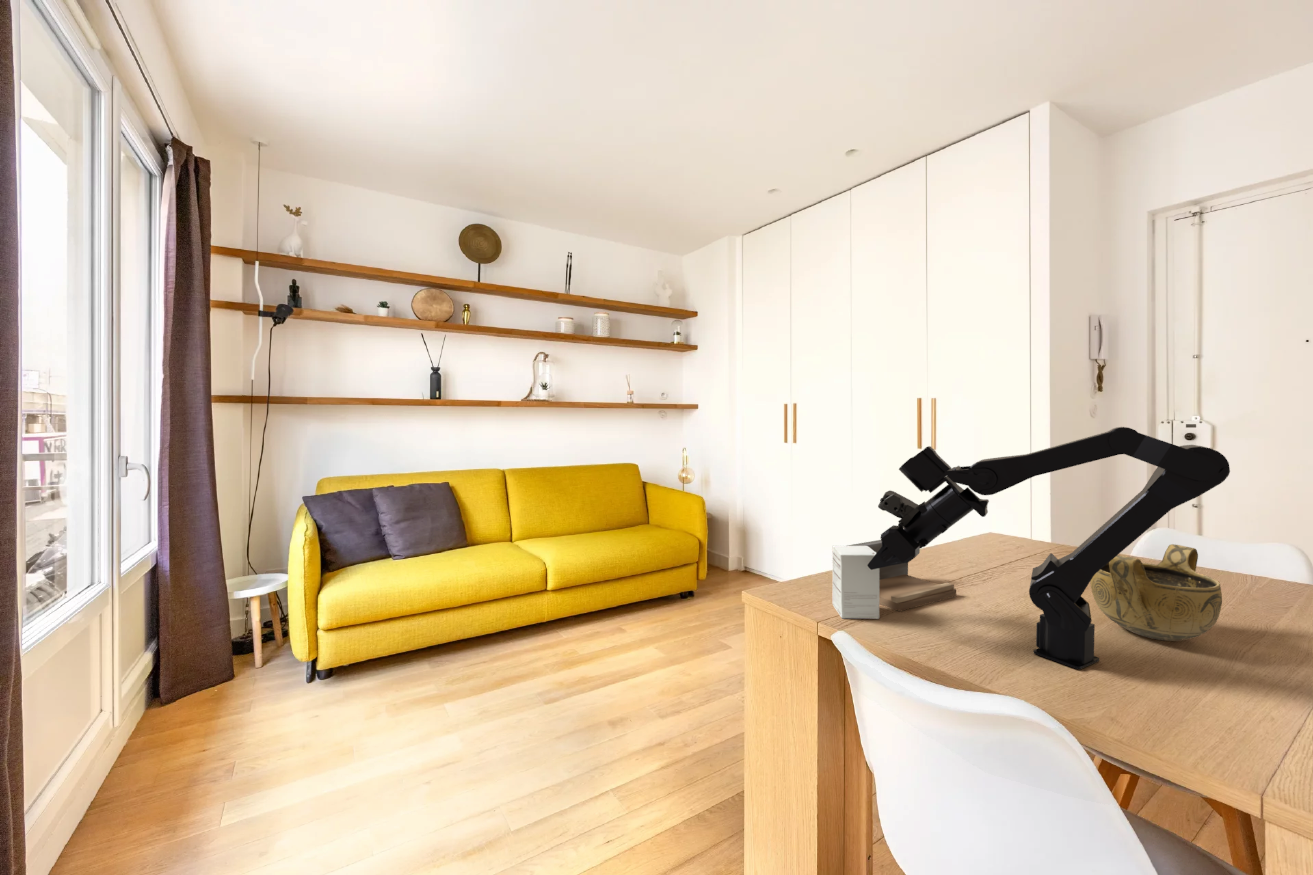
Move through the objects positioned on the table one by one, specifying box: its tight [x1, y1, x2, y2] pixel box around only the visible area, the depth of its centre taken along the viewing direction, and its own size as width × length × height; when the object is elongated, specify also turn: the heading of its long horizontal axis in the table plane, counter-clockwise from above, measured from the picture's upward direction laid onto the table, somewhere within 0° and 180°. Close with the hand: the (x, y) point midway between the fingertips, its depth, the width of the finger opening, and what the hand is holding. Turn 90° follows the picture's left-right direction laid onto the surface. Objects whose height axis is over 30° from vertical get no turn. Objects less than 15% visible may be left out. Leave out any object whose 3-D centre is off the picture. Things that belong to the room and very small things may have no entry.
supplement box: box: [831, 545, 880, 620], centre depth 104 cm, size 7×7×13 cm
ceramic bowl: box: [1089, 543, 1223, 642], centre depth 93 cm, size 22×17×15 cm
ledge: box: [846, 539, 957, 612], centre depth 115 cm, size 14×20×10 cm
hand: (876, 561), depth 101 cm, fingers open, 9 cm apart
